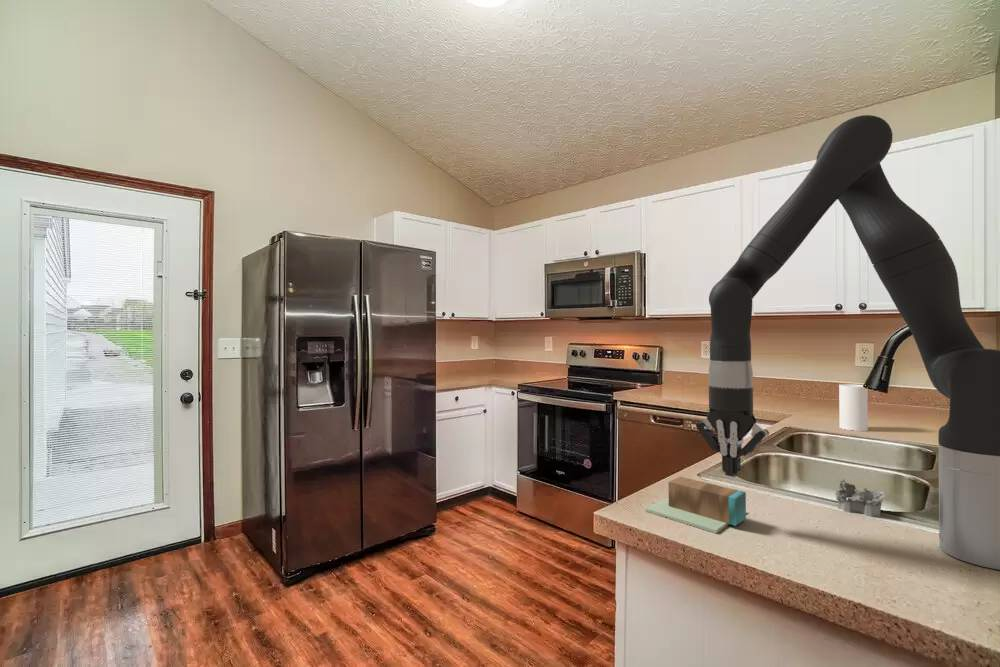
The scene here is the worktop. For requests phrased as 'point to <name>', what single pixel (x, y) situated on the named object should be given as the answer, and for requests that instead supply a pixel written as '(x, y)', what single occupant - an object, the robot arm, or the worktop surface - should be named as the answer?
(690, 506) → the walnut block
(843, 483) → the grey miniature model
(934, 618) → the worktop surface
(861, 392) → the cup
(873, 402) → the worktop surface
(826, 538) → the worktop surface
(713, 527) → the sage mat
